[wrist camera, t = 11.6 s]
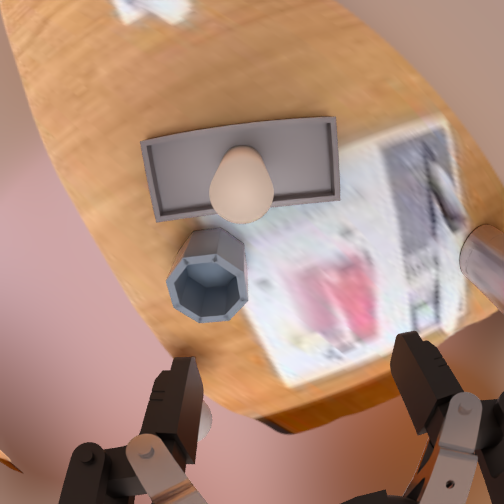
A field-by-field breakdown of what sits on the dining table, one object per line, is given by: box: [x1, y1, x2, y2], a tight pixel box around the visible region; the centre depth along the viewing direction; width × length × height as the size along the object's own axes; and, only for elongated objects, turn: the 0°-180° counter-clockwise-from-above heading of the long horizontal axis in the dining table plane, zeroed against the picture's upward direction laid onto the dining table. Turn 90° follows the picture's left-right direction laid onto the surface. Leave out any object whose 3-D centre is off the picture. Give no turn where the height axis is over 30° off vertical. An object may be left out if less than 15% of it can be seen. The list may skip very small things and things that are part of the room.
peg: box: [209, 145, 274, 224], centre depth 26 cm, size 4×4×12 cm
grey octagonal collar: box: [166, 228, 248, 323], centre depth 34 cm, size 8×8×7 cm
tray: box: [140, 116, 340, 222], centre depth 32 cm, size 20×9×2 cm, turn 97°
